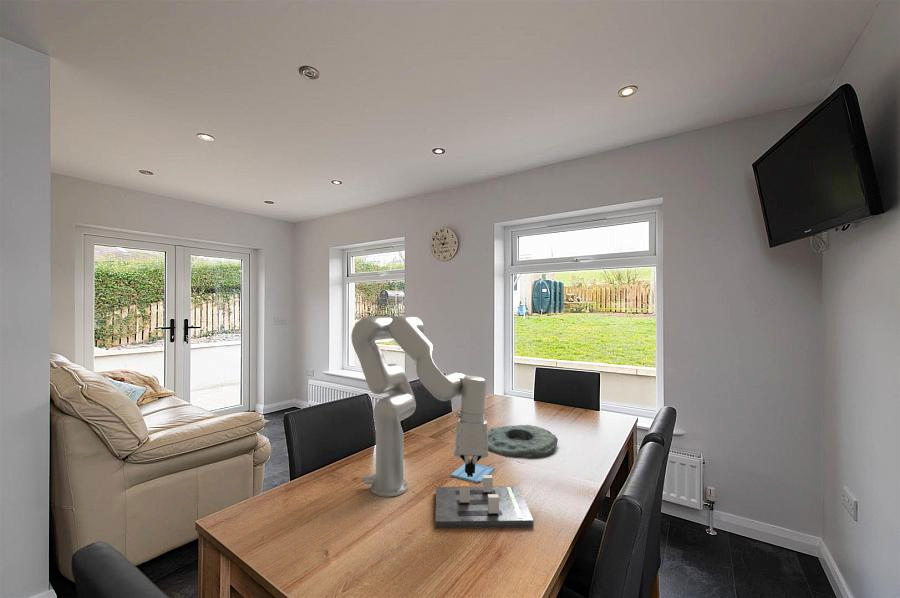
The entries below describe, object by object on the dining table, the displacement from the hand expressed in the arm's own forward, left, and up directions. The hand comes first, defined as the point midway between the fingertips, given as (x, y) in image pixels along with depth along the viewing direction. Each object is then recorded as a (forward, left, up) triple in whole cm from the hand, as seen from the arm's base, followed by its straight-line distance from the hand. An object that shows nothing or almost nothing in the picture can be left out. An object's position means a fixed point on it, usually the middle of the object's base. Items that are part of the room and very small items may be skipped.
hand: (469, 474), depth 122 cm
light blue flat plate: (+3, +26, -11) cm, 28 cm away
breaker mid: (-2, 0, -8) cm, 8 cm away
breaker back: (+6, +6, -8) cm, 12 cm away
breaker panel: (+3, 0, -10) cm, 11 cm away
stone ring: (+27, +57, -11) cm, 64 cm away
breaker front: (+6, -7, -8) cm, 12 cm away
